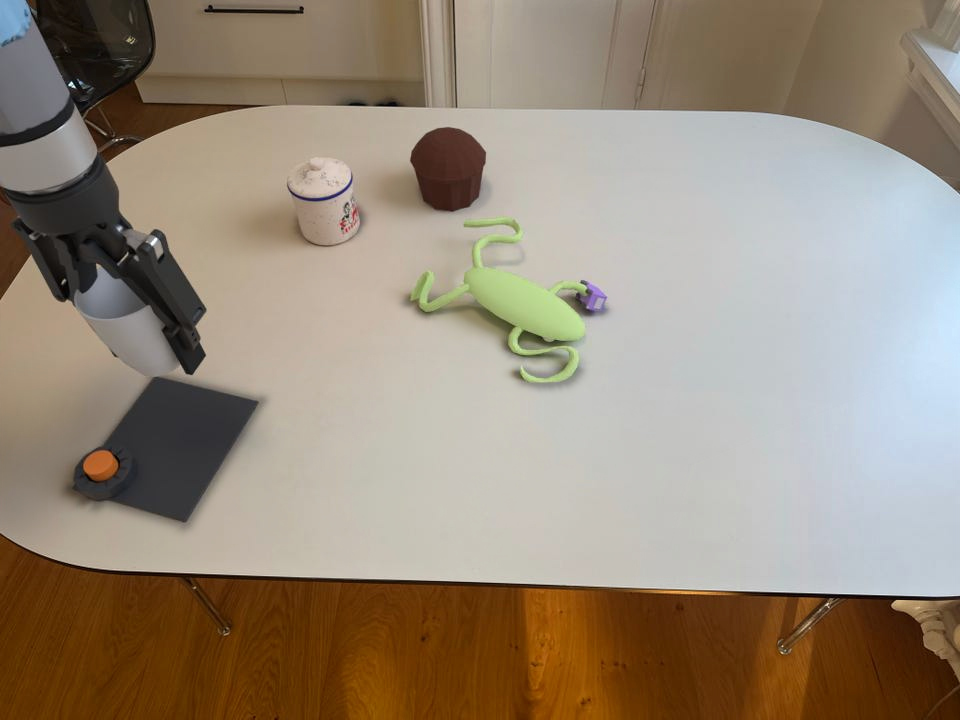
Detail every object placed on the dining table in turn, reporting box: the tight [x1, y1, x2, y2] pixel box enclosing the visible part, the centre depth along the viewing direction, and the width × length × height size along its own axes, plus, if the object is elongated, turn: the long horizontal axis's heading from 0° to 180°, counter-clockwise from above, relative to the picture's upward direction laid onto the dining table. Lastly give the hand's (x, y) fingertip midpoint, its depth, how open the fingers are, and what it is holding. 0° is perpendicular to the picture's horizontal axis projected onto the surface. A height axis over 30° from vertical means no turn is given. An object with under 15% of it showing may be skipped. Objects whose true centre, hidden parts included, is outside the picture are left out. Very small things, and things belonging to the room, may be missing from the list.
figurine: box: [409, 215, 608, 384], centre depth 91 cm, size 18×27×6 cm
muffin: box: [409, 126, 487, 212], centre depth 105 cm, size 12×11×10 cm
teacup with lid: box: [286, 156, 361, 246], centre depth 101 cm, size 12×9×12 cm
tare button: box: [83, 450, 118, 481], centre depth 75 cm, size 3×3×2 cm
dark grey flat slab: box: [71, 376, 260, 523], centre depth 79 cm, size 14×16×3 cm
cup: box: [74, 258, 181, 378], centre depth 68 cm, size 8×8×10 cm
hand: (160, 355), depth 72 cm, fingers closed on cup, 8 cm apart
